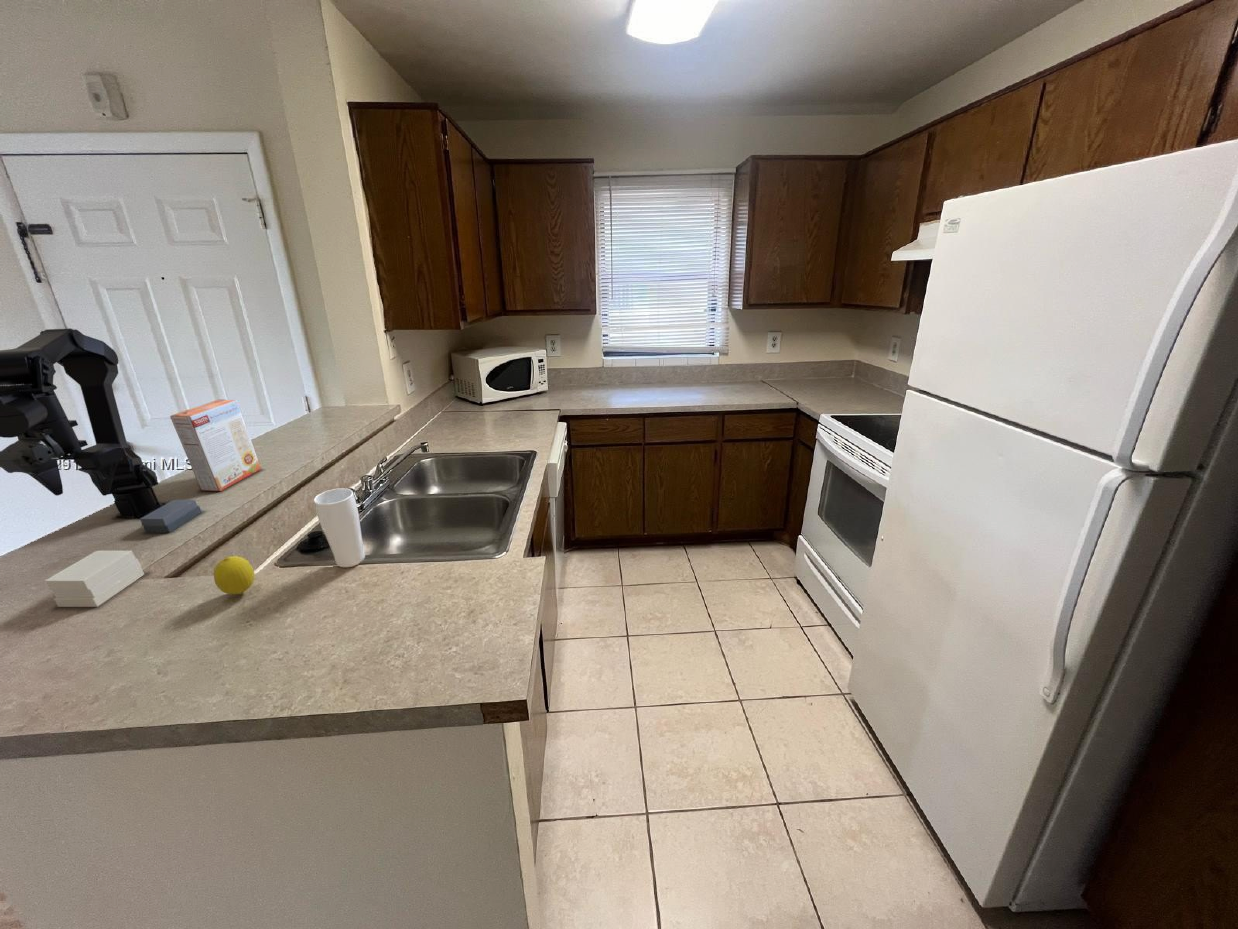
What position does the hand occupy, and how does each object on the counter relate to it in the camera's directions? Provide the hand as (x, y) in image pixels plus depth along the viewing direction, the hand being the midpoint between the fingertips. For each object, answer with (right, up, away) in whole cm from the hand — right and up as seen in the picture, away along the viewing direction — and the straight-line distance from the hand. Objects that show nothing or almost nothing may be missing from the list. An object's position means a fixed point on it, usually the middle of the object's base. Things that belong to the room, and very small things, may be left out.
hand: (83, 494), depth 93 cm
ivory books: (+11, -17, -6) cm, 21 cm away
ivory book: (+11, -14, -8) cm, 19 cm away
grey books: (+4, -7, +15) cm, 17 cm away
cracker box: (+1, +2, +36) cm, 36 cm away
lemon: (+37, -18, -7) cm, 42 cm away
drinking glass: (+52, -14, +3) cm, 54 cm away
